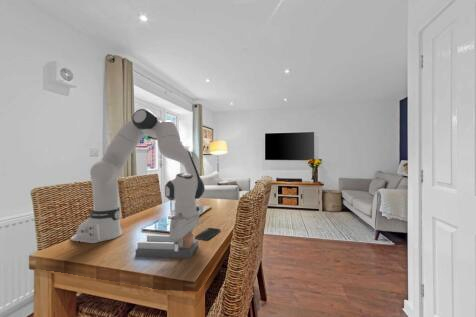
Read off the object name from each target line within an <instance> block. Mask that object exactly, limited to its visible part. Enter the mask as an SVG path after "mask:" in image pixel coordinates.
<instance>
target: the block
mask: <svg viewBox="0 0 476 317" xmlns="http://www.w3.org/2000/svg"><path fill="white" fill-rule="evenodd" d="M193 240H194V234H193V233H192V234H186V235H184V236H183V241H184V245H183V246H182V247H180V246H179V242H178V248H190V247H191V245H192V244H193Z"/></svg>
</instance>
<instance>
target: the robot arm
mask: <svg viewBox="0 0 476 317" xmlns="http://www.w3.org/2000/svg"><path fill="white" fill-rule="evenodd" d="M144 137H146V138H147V139H150V140H156V141H157V147H158V149H159V152H160V154H161V155H163V157H165V158H166V159H169V160H172V161H175V162H178V163H180V164H182V165H183V167H184V169H185V172H182V173H178V174H176V175H175V178H173V179H171V180H169V181H167V182H166V184H165V186H164V197H165V198H167V199H168V200H169V201H174V216H175V217H174V219H173V220H172V219H171V222H170V226H169V235H170V236H169V237H170V239H171V240H176V241H177V240H178V242H179V246H180V247H182V246H183V245H184V241H183V236H184V235H186V234H193V230H194V228H196V227H197V226H198V225H199V222H200V221H199V218H200V213H199V211H200V210H201V209H200V208H201V207H200V206H199V205H196V200H198V199H200V198H201V197H202V196H203V195H204V193H205V183H204V182H203V179H202V178H201V176H200V175H199V171H198V169H197V167H196V164H195V161H194V159H193V157H192V155H191V153H190V151H189V150H188V149H186V147H185V146H184V145H183V142H182V141H181V138H180V137H181V136H180V133H179V131H178V127H177V126H176V124H175V123H174V122H173V121H172V120H164V121H163V120H162V119H161V118H160V117H158V116H157V115H155V114H154V113H153V112H152V111H150V110H149V109H146V108H140V109H137V110H136V111H135V112H134V113H133V115H132V117H131V119H129V120H128V121H126V122H125V123H124V124H123V125H122V126H121V128H120V129H119V130H118V132H116V135H115V136H114V138H113V139H112V140H111V142H110V143H109V145H108V146H107V149H106V150H105V153H104V154H103V157H102V158H101V159H100V161H99V160H98V161H97V162H95V163H94V164H93V165H91V168H90V171H89V174H90V175H89V176H90V180H91V188H92V195H93V196H92V197H93V198H92V199H93V200H92V201H93V203H92V204H93V207H92V210H90V211H88V212H87V213H88V215H89V218H87V219H86V220H84V221H83V222H82V223H80V224H79V225H78V227H77V229H76V233H75V234H74V235H72V237H70V241H72V242H73V241H74V242H79V241H80V242H81V243H88V244H96V243H99V242H103V241H104V242H105V241H110V240H113V239H116V238H119V237H121V236H122V234H123V230H122V227H121V223H120V215H121V214H120V213H121V212H120V211H121V210H120V206H119V205H120V204H119V202H120V200H119V199H120V198H119V196H120V195H119V194H120V193H119V185H118V177H119V175H120V174H121V172H122V170H123V168H125V165H126V164H127V162H128V160H129V158H130V156H131V155H132V153H133V152H134V151H135V149H136V148H137V146H138V144H139V143H140V141H141V140H142V138H144ZM80 242H79V243H80Z"/></svg>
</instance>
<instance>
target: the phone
mask: <svg viewBox="0 0 476 317" xmlns="http://www.w3.org/2000/svg"><path fill="white" fill-rule="evenodd" d="M220 232H221V228H215V227H208V228H206V229H205V230H203V231H202V232H200V233H198V234H197V235H195V236H194V238H195V239H194V240H200V241H205V242H207V241H210V240H211V239H212V238H214V237H215V236H217V234H219V233H220Z"/></svg>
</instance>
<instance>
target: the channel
mask: <svg viewBox="0 0 476 317" xmlns="http://www.w3.org/2000/svg"><path fill="white" fill-rule="evenodd" d="M169 236H170V234H147V235H146V241H141V240H139V241H137V243H136V244H137V248H136V249H135V257H149V258H150V257H152V258H156V257H158V258H178V259H179V258H181V259H182V258H183V259H186V258H187V259H190V258H192V256H193V254H194V253H195V251H196V249H197V248H198V246H199V239H193V244H192V245H191V247H190V248H178V240H177V241H176V240H171V239H170V237H169Z"/></svg>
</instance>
